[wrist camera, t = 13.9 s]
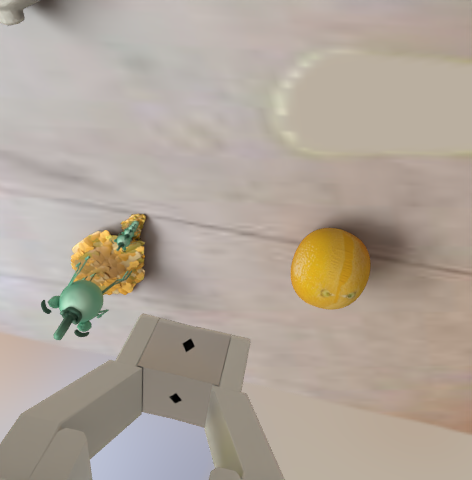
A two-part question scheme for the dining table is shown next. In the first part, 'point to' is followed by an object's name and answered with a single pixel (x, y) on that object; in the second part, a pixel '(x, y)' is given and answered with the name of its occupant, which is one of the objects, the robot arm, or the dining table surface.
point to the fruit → (330, 268)
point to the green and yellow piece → (100, 274)
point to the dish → (13, 10)
